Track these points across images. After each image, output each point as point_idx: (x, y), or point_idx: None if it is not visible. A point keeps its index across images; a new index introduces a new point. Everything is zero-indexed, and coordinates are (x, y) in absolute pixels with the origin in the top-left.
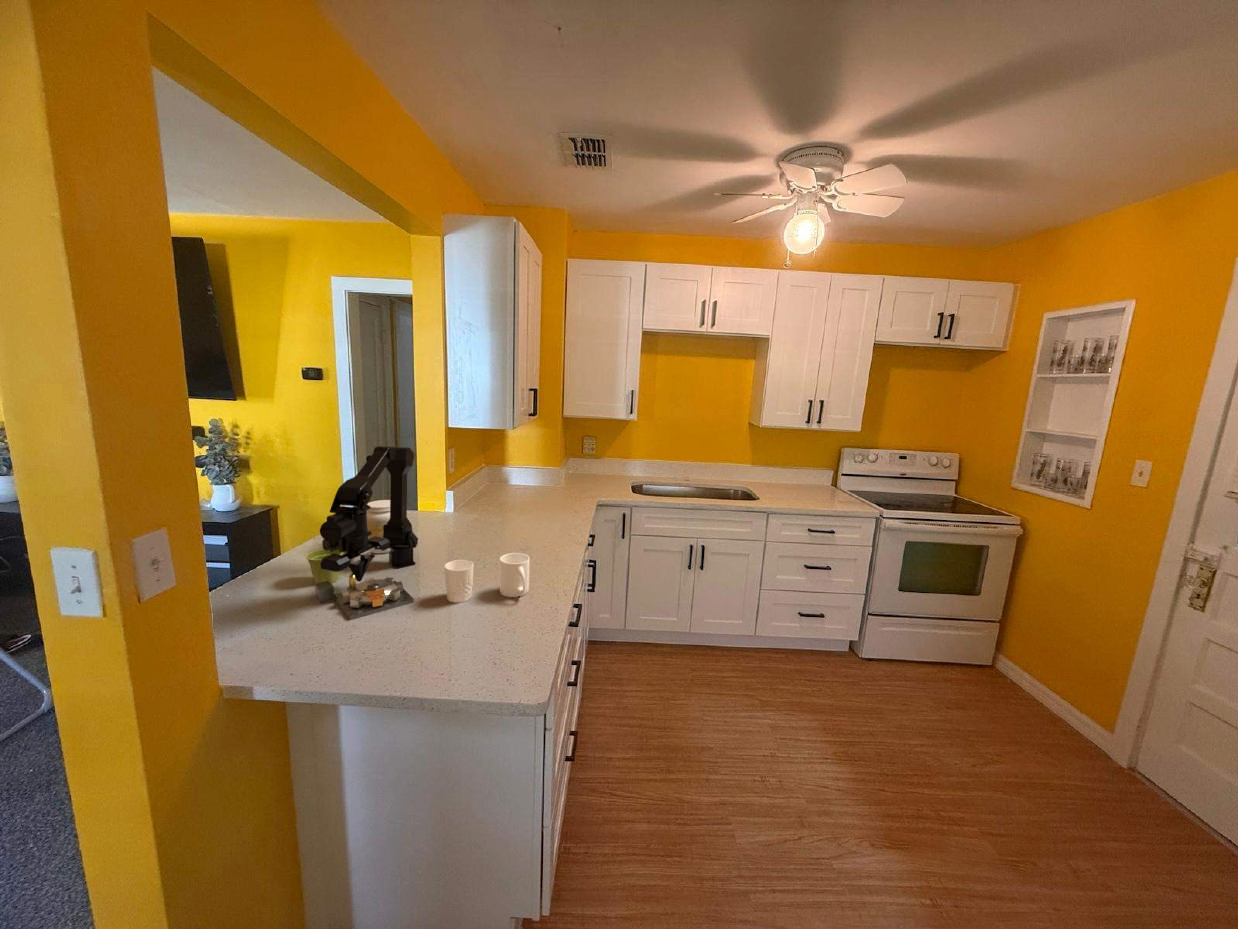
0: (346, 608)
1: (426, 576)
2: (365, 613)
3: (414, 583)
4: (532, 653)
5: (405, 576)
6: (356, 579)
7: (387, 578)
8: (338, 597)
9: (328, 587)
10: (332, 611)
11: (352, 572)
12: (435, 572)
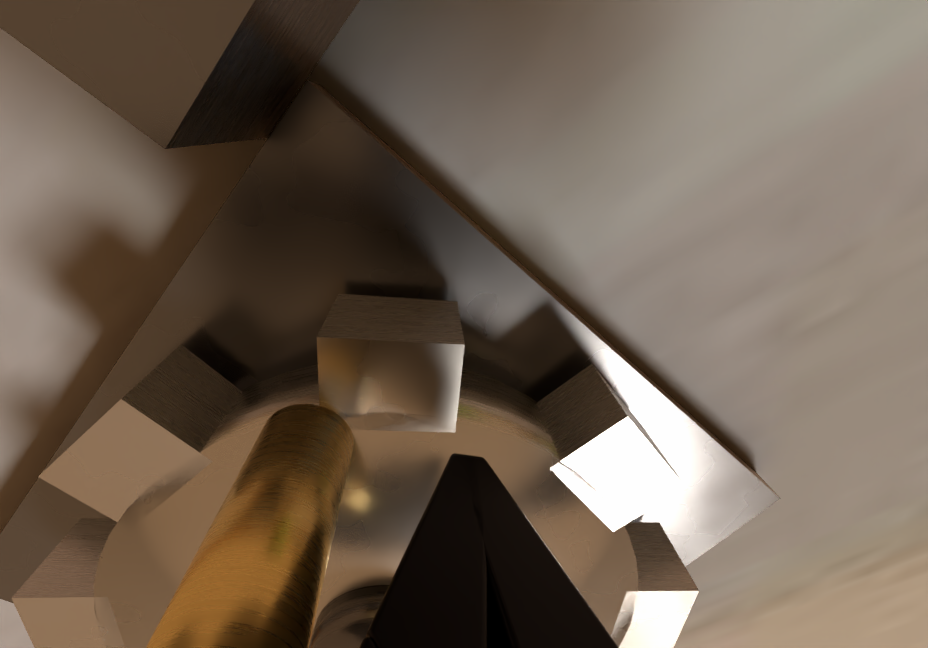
0: None
1: (856, 608)
2: None
3: (728, 601)
4: None
5: (889, 487)
6: (444, 476)
7: (662, 612)
8: (238, 232)
9: (80, 59)
10: (26, 320)
11: (383, 605)
12: (924, 622)
